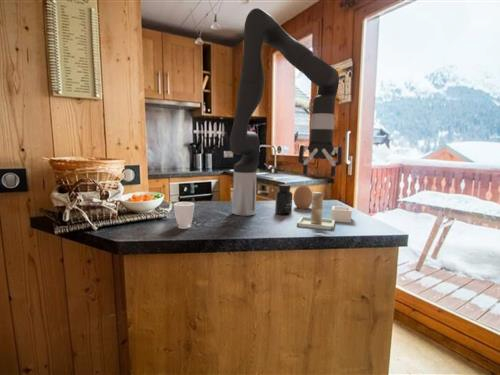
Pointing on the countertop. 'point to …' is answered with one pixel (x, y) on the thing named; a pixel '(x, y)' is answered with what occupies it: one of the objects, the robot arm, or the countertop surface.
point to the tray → (326, 224)
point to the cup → (184, 214)
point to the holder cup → (341, 214)
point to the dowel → (316, 208)
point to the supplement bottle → (283, 200)
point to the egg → (303, 197)
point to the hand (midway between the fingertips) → (318, 176)
